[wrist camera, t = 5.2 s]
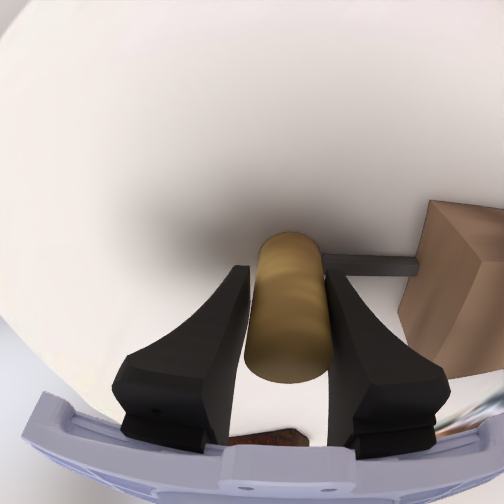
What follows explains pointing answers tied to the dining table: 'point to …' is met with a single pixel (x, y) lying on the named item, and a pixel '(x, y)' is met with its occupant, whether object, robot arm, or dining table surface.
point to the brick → (272, 439)
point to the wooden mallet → (412, 305)
